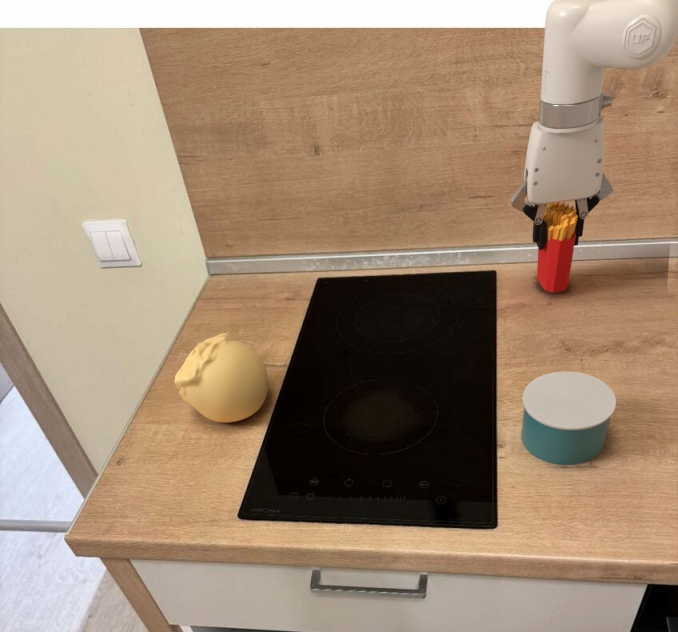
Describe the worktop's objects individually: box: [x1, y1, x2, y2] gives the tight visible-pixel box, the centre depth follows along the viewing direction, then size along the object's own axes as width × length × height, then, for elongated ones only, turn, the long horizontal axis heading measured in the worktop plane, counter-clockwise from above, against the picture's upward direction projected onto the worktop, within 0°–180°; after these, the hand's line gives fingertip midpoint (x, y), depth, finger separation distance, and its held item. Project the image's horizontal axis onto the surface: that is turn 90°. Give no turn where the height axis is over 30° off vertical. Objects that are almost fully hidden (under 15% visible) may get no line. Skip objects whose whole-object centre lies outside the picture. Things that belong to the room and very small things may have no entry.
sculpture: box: [174, 332, 269, 423], centre depth 87 cm, size 11×12×11 cm
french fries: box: [536, 201, 578, 294], centre depth 95 cm, size 8×4×12 cm, turn 6°
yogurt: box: [520, 370, 617, 466], centre depth 74 cm, size 10×10×8 cm
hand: (556, 242), depth 94 cm, fingers closed on french fries, 4 cm apart
